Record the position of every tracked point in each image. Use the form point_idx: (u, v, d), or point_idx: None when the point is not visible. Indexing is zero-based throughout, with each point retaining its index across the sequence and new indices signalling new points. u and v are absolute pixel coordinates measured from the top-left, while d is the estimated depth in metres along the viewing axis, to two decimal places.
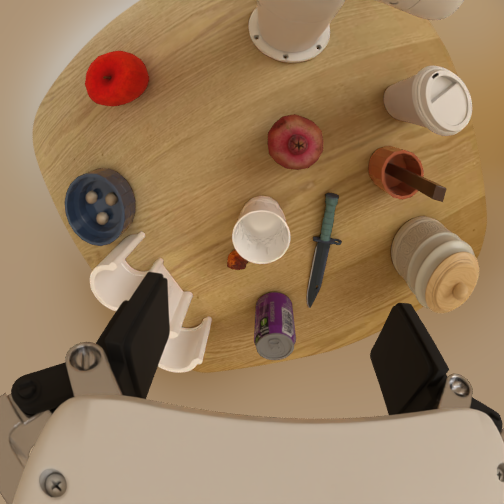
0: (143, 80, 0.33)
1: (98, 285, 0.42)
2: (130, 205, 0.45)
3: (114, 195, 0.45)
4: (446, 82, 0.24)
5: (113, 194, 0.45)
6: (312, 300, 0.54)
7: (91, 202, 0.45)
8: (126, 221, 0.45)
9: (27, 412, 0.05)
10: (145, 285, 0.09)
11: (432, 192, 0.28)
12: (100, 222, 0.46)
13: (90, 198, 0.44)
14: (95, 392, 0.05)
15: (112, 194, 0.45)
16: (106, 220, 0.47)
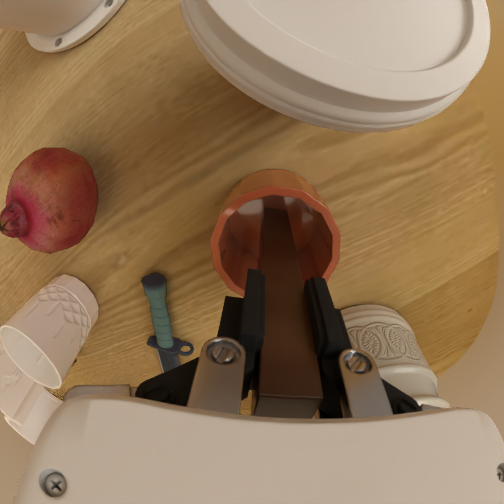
0: None
1: None
2: None
3: None
4: None
5: None
6: None
7: None
8: None
9: None
10: (252, 281, 0.10)
11: (253, 403, 0.07)
12: None
13: None
14: (216, 386, 0.06)
15: None
16: None
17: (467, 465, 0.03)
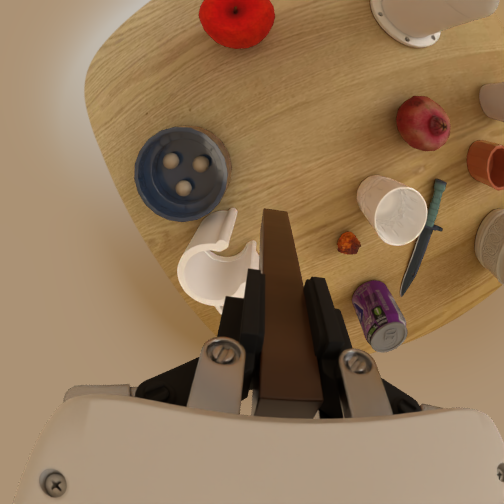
0: None
1: (186, 271, 0.36)
2: (229, 172, 0.38)
3: (206, 159, 0.38)
4: None
5: (205, 158, 0.38)
6: (405, 288, 0.48)
7: (171, 166, 0.38)
8: (224, 191, 0.38)
9: None
10: (252, 281, 0.10)
11: (254, 405, 0.08)
12: (182, 192, 0.39)
13: (171, 161, 0.37)
14: (216, 386, 0.06)
15: (204, 157, 0.38)
16: (190, 190, 0.40)
17: (467, 465, 0.03)
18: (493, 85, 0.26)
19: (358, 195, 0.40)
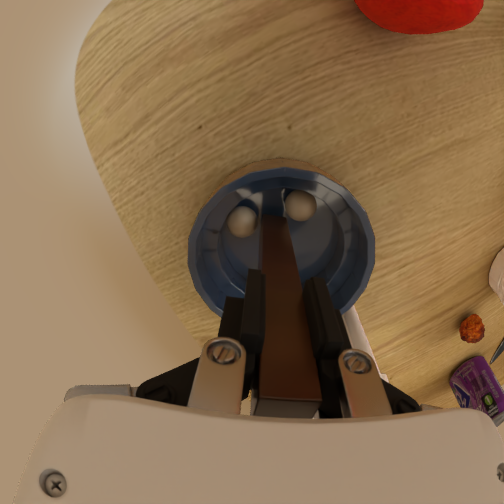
0: None
1: None
2: None
3: None
4: None
5: None
6: (497, 356, 0.31)
7: (235, 232, 0.21)
8: None
9: None
10: (252, 281, 0.10)
11: (253, 406, 0.07)
12: None
13: (235, 222, 0.21)
14: (216, 386, 0.06)
15: None
16: None
17: (467, 465, 0.03)
18: None
19: (495, 271, 0.23)
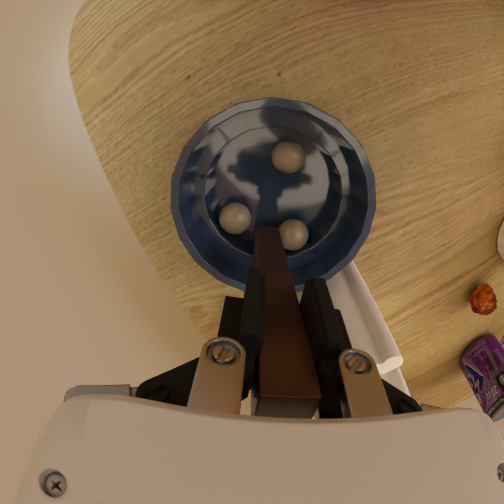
0: None
1: None
2: None
3: None
4: None
5: None
6: None
7: (235, 233, 0.21)
8: None
9: None
10: (252, 281, 0.10)
11: (253, 407, 0.08)
12: (305, 242, 0.22)
13: None
14: (216, 386, 0.06)
15: None
16: None
17: (467, 465, 0.03)
18: None
19: None
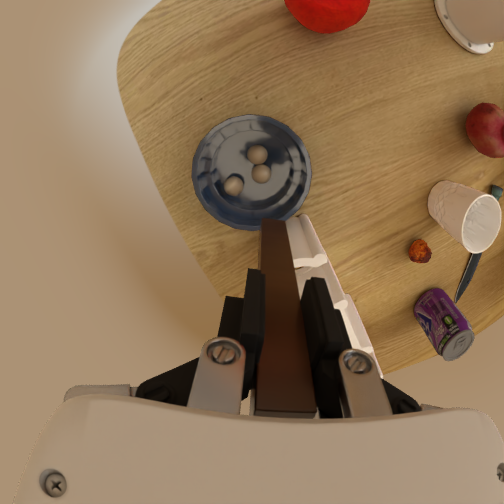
0: None
1: None
2: None
3: None
4: None
5: None
6: (460, 294, 0.42)
7: (234, 195, 0.34)
8: None
9: None
10: (252, 281, 0.10)
11: None
12: (258, 176, 0.32)
13: None
14: (216, 386, 0.06)
15: (266, 151, 0.32)
16: (262, 183, 0.33)
17: (467, 465, 0.03)
18: None
19: (431, 201, 0.34)
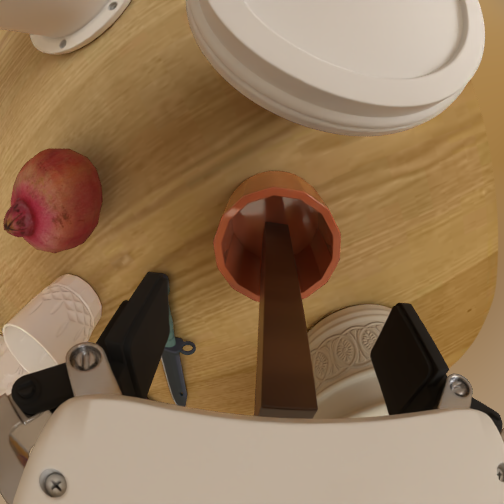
0: None
1: None
2: None
3: None
4: None
5: None
6: (182, 405, 0.34)
7: None
8: None
9: (27, 412, 0.05)
10: (145, 285, 0.09)
11: (256, 413, 0.08)
12: None
13: None
14: (95, 392, 0.05)
15: None
16: None
17: (467, 465, 0.03)
18: None
19: None
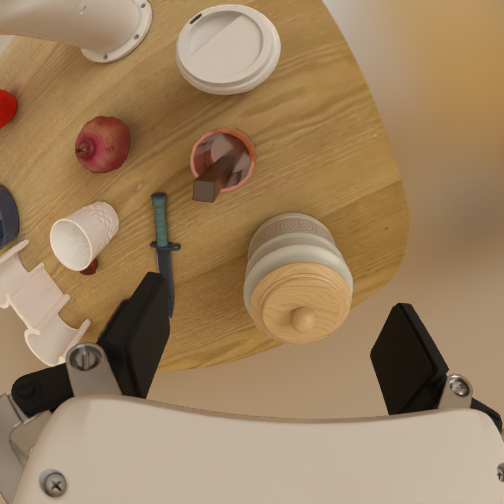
0: (0, 110, 0.27)
1: None
2: (11, 216, 0.39)
3: None
4: (230, 20, 0.18)
5: None
6: (170, 310, 0.49)
7: None
8: (8, 230, 0.39)
9: (27, 412, 0.05)
10: (145, 285, 0.09)
11: (194, 190, 0.23)
12: None
13: None
14: (95, 392, 0.05)
15: None
16: None
17: (467, 465, 0.03)
18: None
19: None
